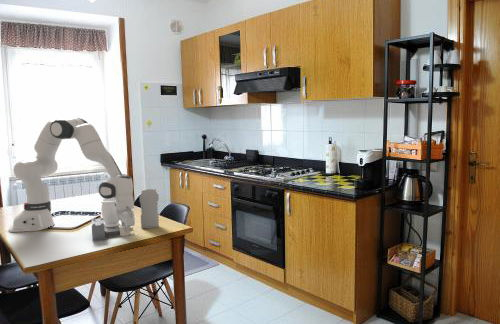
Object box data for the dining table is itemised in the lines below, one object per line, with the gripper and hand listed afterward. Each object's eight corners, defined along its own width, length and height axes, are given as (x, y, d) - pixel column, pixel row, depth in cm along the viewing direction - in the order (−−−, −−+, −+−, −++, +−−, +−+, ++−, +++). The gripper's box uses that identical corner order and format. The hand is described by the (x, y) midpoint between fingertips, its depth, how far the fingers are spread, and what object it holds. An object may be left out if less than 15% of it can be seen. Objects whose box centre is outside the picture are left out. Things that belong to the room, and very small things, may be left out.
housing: (92, 241, 195) (91, 224, 194) (92, 234, 207) (91, 218, 206) (105, 239, 197) (104, 223, 196) (104, 232, 209) (104, 217, 208)
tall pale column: (141, 229, 215) (139, 190, 213) (139, 227, 219) (138, 189, 216) (160, 227, 220) (159, 188, 217) (158, 225, 223) (157, 187, 221)
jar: (101, 224, 226) (100, 198, 224) (120, 222, 230) (119, 197, 228) (102, 228, 216) (101, 202, 215) (122, 226, 220) (121, 200, 219)
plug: (95, 239, 198) (95, 231, 197) (94, 237, 202) (94, 228, 201) (134, 234, 207) (133, 226, 206) (132, 232, 211) (132, 223, 210)
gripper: (137, 208, 198) (138, 234, 200) (125, 200, 215) (126, 225, 217) (124, 209, 195) (126, 236, 196) (113, 202, 212) (114, 227, 213)
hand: (126, 230), depth 207 cm, fingers closed on plug, 5 cm apart
